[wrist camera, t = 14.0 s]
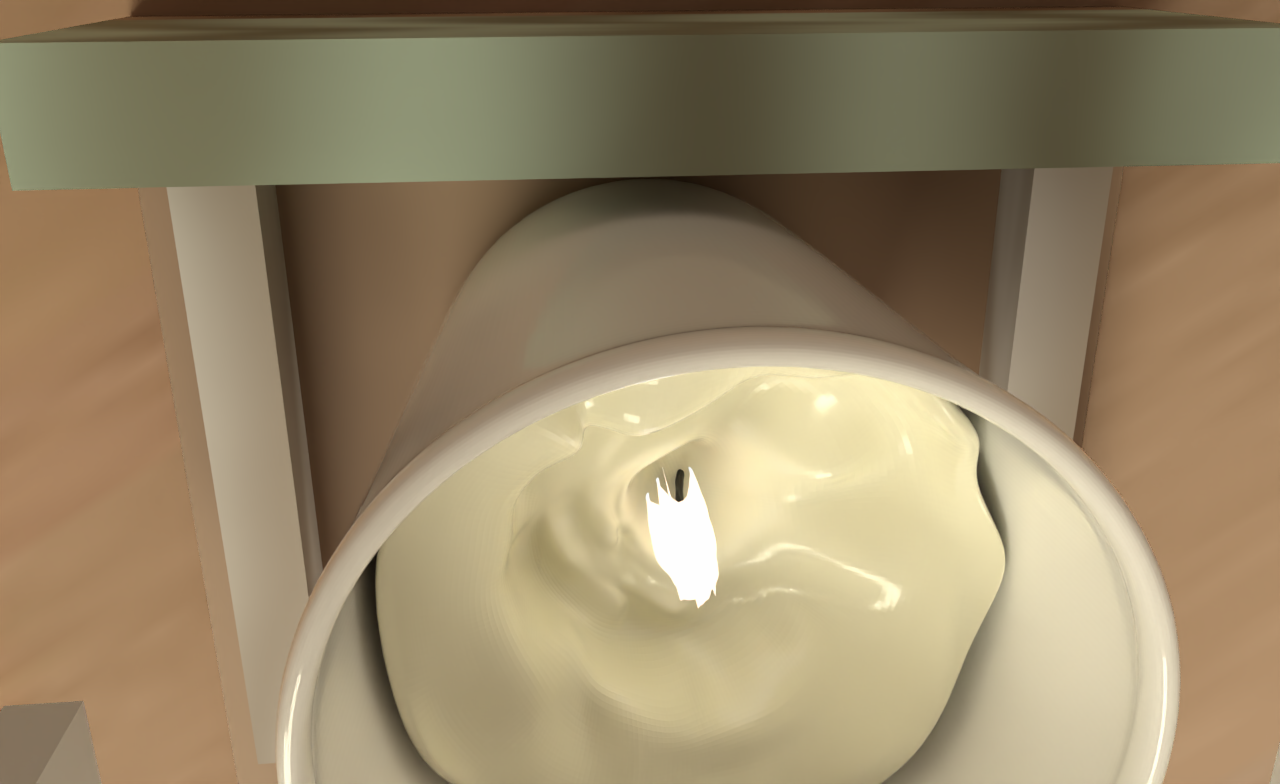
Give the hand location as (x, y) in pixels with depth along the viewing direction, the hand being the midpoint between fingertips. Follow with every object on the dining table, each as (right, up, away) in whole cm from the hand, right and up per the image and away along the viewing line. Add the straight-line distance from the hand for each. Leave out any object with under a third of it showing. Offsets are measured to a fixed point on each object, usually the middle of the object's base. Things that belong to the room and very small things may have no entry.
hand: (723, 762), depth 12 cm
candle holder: (-1, +4, +11) cm, 12 cm away
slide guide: (-1, -1, +14) cm, 14 cm away
